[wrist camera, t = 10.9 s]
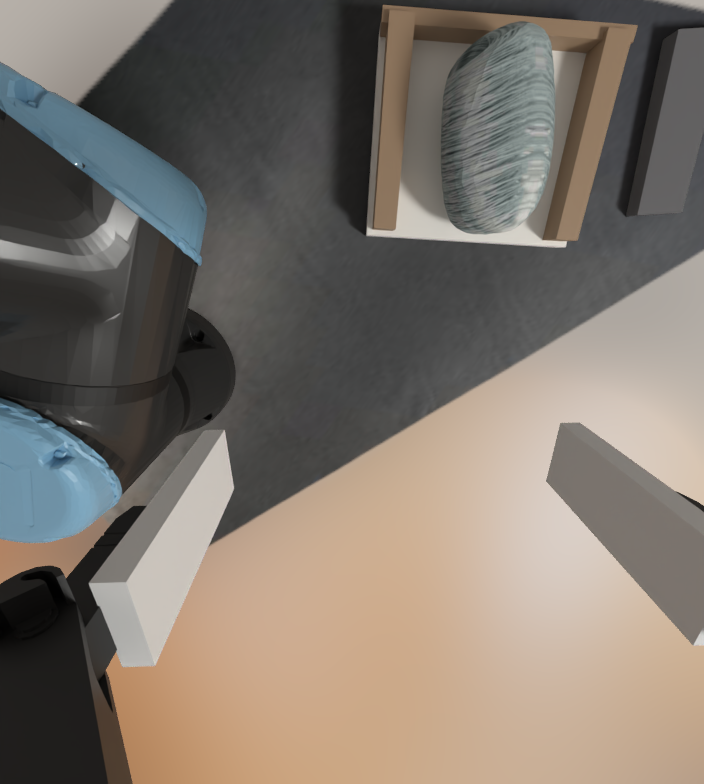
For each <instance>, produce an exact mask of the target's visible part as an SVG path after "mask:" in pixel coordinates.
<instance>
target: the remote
mask: <svg viewBox="0 0 704 784" xmlns="http://www.w3.org/2000/svg"><path fill="white" fill-rule="evenodd" d="M703 132H704V28H688V29H678V30H677V31H675V32H674V33H672V34H671V35H669V36H668V37H666V38H665V39H663V42H662V47H661V52H660V56H659V61H658V66H657V71H656V75H655V80H654V85H653V90H652V94H651V99H650V104H649V109H648V113H647V118H646V123H645V128H644V132H643V137H642V142H641V147H640V151H639V156H638V161H637V166H636V170H635V175H634V180H633V185H632V189H631V194H630V199H629V204H628V208H627V213H626V217H629V216H645V215H662V214H674V213H682V211H683V208H684V204H685V200H686V196H687V192H688V189H689V185H690V181H691V177H692V174H693V170H694V166H695V162H696V158H697V155H698V151H699V147H700V143H701V139H702V136H703Z"/></svg>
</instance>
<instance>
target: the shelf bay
mask: <svg viewBox="0 0 704 784" xmlns="http://www.w3.org/2000/svg"><path fill="white" fill-rule="evenodd" d="M519 21H526V22H530V23H534V24H536V25H538V26H540V27H542V28H543V29H544V30H545V31H546V33H547V34H548V36H549V39H550V41H551V46H552V55H553V64H554V83H555V128H554V140H553V150H552V157H551V163H550V170H549V174H548V178H547V181H546V185H545V189H544V192H543V195H542V197H541V198H540V200H539V202H538V204H537V207H536V208H535V210H534V211H533V212H532V213H531V214H530V215H529V217H528V218H527V219H526V220H525V221H524V222H523V223H522V224H520V225H519V226H518V227H516V228H515V229H513V230H511V231H507V232H502V233H490V234H486V235H484V234H469V233H465V232H463V231H461V230H459V229H457V228H456V227H455V226H454V225H453V224H452V223H451V222H450V220H449V217H448V215H447V212H446V208H445V205H444V198H443V189H442V175H441V123H442V121H441V119H442V107H443V95H444V90H445V85H446V81H447V77H448V75H449V73H450V70H451V69H452V67H453V66H454V64H455V63H456V61H457V60H458V58H459V57H460V56H461V55H462V54H463V53H464V52H465V51H466V50H467V48H469V47H470V46H471V45H472V44H473V43H474V42H476V41H477V40H478V39H480V38H481V37H483V36H484V35H486V34H487V33H489V32H491V31H493V30H495V29H497V28H500V27H502V26H505V25H507V24H510V23H514V22H519ZM637 26H638V25H627V24H615V23H602V22H590V21H578V20H565V19H553V18H540V17H528V16H516V15H503V14H491V13H479V12H466V11H454V10H441V9H429V8H417V7H404V6H392V5H383V8H382V15H381V23H380V30H379V39H378V55H377V70H376V86H375V102H374V117H373V133H372V148H371V164H370V179H369V195H368V211H367V226H366V236H375V237H391V238H408V239H424V240H440V241H456V242H473V243H489V244H505V245H522V246H538V247H554V248H555V247H566V243H567V241H577V240H578V236H579V232H580V229H581V225H582V221H583V218H584V214H585V210H586V206H587V203H588V199H589V195H590V192H591V188H592V184H593V180H594V177H595V173H596V169H597V166H598V162H599V158H600V154H601V151H602V147H603V143H604V140H605V136H606V132H607V128H608V125H609V121H610V117H611V114H612V110H613V106H614V102H615V99H616V95H617V91H618V88H619V84H620V80H621V76H622V73H623V69H624V65H625V62H626V58H627V54H628V50H629V47H630V44H631V43H633V41H634V37H635V34H636V30H637Z"/></svg>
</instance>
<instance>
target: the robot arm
mask: <svg viewBox="0 0 704 784" xmlns="http://www.w3.org/2000/svg"><path fill="white" fill-rule="evenodd" d="M206 218H207V207H206V203H205V200H204V197H203V195H202V194H201V192H200V190H199V189H198V187H197V186H196V185H195V184H194V183H193V182H192V181H191V180H190V179H189V178H188V177H187V176H186V175H184V174H183V173H182V172H180V171H179V170H178V169H176V168H175V167H173V166H172V165H171V164H169V163H168V162H166V161H165V160H163V159H162V158H160V157H159V156H157V155H156V154H154V153H153V152H151V151H150V150H148V149H147V148H145V147H143V146H142V145H140V144H139V143H137V142H136V141H134V140H133V139H131V138H129V137H128V136H126V135H125V134H123V133H121V132H120V131H118V130H117V129H115V128H113V127H112V126H110V125H108V124H107V123H105V122H103V121H102V120H100V119H99V118H97V117H95V116H94V115H92V114H90V113H89V112H87V111H85V110H84V109H82V108H80V107H79V106H77V105H75V104H73V103H72V102H70V101H68V100H66V99H65V98H63V97H61V96H59V95H57V94H56V93H53V92H50V91H47V90H46V89H45V88H43V87H42V86H41V85H39V84H37V83H35V82H34V81H31V80H30V79H28V78H26V77H24V76H22V75H21V74H19V73H17V72H16V71H15V70H13V69H12V68H10V67H9V66H7V65H5V64H3V63H1V62H0V539H3V540H8V541H14V542H23V543H45V542H51V541H55V540H58V539H61V538H66V537H70V536H73V535H76V534H78V533H80V532H81V531H83V530H84V529H86V528H87V527H88V526H90V525H91V524H92V523H93V522H94V521H95V520H97V519H98V518H99V517H100V516H101V515H102V514H104V513H105V512H106V511H107V510H109V509H110V508H112V507H113V506H114V505H115V504H117V503H118V502H119V499H120V497H121V496H122V494H123V493H124V492H125V491H126V490H127V489H128V488H129V487H130V486H131V485H132V484H133V483H134V482H135V480H136V479H137V478H138V477H139V476H140V475H141V474H142V473H143V472H144V471H145V470H146V469H147V467H148V466H149V465H150V464H151V463H152V462H153V461H154V460H155V459H156V458H157V457H158V456H159V454H160V453H161V452H162V451H163V450H164V449H165V448H166V447H167V446H168V445H169V444H170V443H171V442H172V440H173V439H174V438H175V437H176V436H178V435H181V434H184V433H187V432H190V431H192V430H195V429H198V428H200V427H202V426H204V425H206V424H207V423H209V422H210V421H211V420H213V419H214V418H215V417H216V416H217V415H218V414H219V413H220V412H221V410H222V409H223V408H224V407H225V405H226V404H227V403H228V401H229V399H230V397H231V395H232V393H233V389H234V385H235V365H234V360H233V357H232V354H231V351H230V349H229V347H228V345H227V343H226V342H225V340H224V338H223V337H222V336H221V334H220V333H219V332H218V331H217V330H216V328H215V327H214V326H213V325H212V324H211V323H209V322H208V321H207V320H206V319H204V318H203V317H202V316H200V315H198V314H197V313H195V312H193V311H191V310H189V309H188V305H189V301H190V297H191V293H192V288H193V284H194V280H195V276H196V272H197V267H198V265H199V266H201V263H202V258H201V256H200V251H201V245H202V240H203V234H204V229H205V224H206ZM546 481H547V483H548V484H549V485H550V486H551V487H552V488H553V489H554V490H555V491H556V493H557V494H558V495H559V496H560V497H561V498H562V499H563V500H564V501H565V503H566V504H567V505H568V506H569V507H570V508H571V509H572V511H573V512H574V513H575V514H576V515H577V516H578V517H579V518H580V519H581V521H582V522H583V523H584V524H585V525H586V526H587V527H588V528H589V530H590V531H591V532H592V533H593V534H594V535H595V536H596V537H597V538H598V540H599V541H600V542H601V543H602V544H603V545H604V546H605V547H606V549H607V550H608V551H609V552H610V553H611V554H612V555H613V556H614V558H616V560H617V561H618V562H619V563H620V564H621V565H622V566H623V568H624V569H625V570H626V571H627V572H628V573H629V574H630V575H631V577H632V578H633V579H634V580H635V581H636V582H637V583H638V584H639V586H640V587H641V588H642V589H643V590H644V591H645V592H646V593H647V594H648V596H649V597H650V598H651V599H652V600H653V601H654V602H655V603H656V604H657V606H658V607H659V608H660V609H661V610H662V611H663V612H664V613H665V615H667V617H668V618H669V619H670V620H671V621H672V622H673V623H674V624H675V626H676V627H677V628H678V629H679V630H680V631H681V633H682V634H683V635H684V636H685V637H686V638H687V639H688V640H689V641H690V643H691V644H692V645H704V506H703V505H701V504H700V503H699V502H697V501H695V500H693V499H691V498H689V497H687V496H685V495H683V494H681V493H678V492H676V491H674V490H672V489H671V488H670V487H668V486H667V485H665V484H664V483H663V482H661V481H660V480H658V479H657V478H656V477H654V476H653V475H652V474H650V473H649V472H647V471H646V470H645V469H643V468H642V467H640V466H639V465H637V464H636V463H635V462H633V461H632V460H631V459H629V458H628V457H627V456H625V455H624V454H622V453H621V452H620V451H618V450H617V449H615V448H614V447H613V446H611V445H610V444H609V443H607V442H606V441H604V440H603V439H602V438H600V437H599V436H597V435H596V434H595V433H593V432H592V431H590V430H589V429H588V428H586V427H585V426H583V425H582V424H580V423H561V424H560V427H559V431H558V435H557V439H556V444H555V448H554V452H553V456H552V460H551V464H550V468H549V472H548V476H547V480H546ZM233 490H234V485H233V479H232V473H231V467H230V461H229V454H228V448H227V442H226V436H225V430H204V431H203V433H202V434H201V435H200V437H199V438H198V439H197V441H196V442H195V443H194V445H193V446H192V447H191V448H190V450H189V451H188V452H187V454H186V455H185V456H184V458H183V459H182V460H181V462H180V463H179V464H178V466H177V467H176V468H175V470H174V471H173V472H172V474H171V475H170V476H169V478H168V479H167V480H166V482H165V483H164V484H163V485H162V487H161V488H160V489H159V491H158V492H157V493H156V495H155V496H154V497H153V499H152V500H151V501H150V503H149V504H148V505H147V506H133V507H132V508H130V509H129V510H127V511H126V512H125V513H123V514H122V515H121V516H119V517H118V518H116V519H115V521H114V522H113V523H112V524H111V525H110V527H109V528H108V529H107V530H106V532H105V533H104V536H101V537H100V539H99V540H98V541H97V542H96V543H95V545H94V548H91V549H90V551H89V552H88V553H87V554H86V555H85V557H84V558H83V559H82V560H81V561H80V563H79V564H78V565H77V566H76V567H75V569H74V570H73V571H72V572H71V573H70V574H69V576H68V577H67V578H65V576H64V574H63V572H62V571H61V569H60V568H58V567H54V566H42V567H36V568H33V569H30V570H27V571H24V572H21V573H19V574H17V575H15V576H13V577H12V578H10V579H8V580H6V581H4V582H3V583H1V584H0V784H132V779H131V775H130V770H129V766H128V761H127V757H126V752H125V748H124V744H123V739H122V735H121V731H120V726H119V721H118V717H117V712H116V708H115V703H114V699H113V695H112V690H111V686H110V681H109V677H108V675H107V672H106V668H107V667H108V665H109V663H110V661H111V659H112V658H113V656H114V654H115V652H117V655H118V657H119V660H120V663H121V665H122V667H136V666H155V665H156V663H157V661H158V658H159V656H160V654H161V652H162V649H163V647H164V645H165V643H166V640H167V638H168V636H169V634H170V631H171V629H172V627H173V625H174V622H175V620H176V618H177V616H178V613H179V611H180V609H181V607H182V604H183V602H184V600H185V598H186V595H187V593H188V591H189V589H190V586H191V584H192V582H193V580H194V577H195V575H196V573H197V571H198V568H199V566H200V564H201V562H202V560H203V557H204V555H205V553H206V551H207V548H208V546H209V544H210V542H211V539H212V537H213V535H214V533H215V530H216V528H217V526H218V524H219V521H220V519H221V517H222V515H223V512H224V510H225V508H226V506H227V503H228V501H229V499H230V497H231V495H232V492H233Z"/></svg>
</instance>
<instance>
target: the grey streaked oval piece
mask: <svg viewBox="0 0 704 784" xmlns="http://www.w3.org/2000/svg"><path fill="white" fill-rule="evenodd" d="M441 121H442V123H441V175H442V189H443V198H444V205H445V208H446V212H447V215H448V217H449V220H450V222H451V223H452V224H453V225H454V226H455V227H456V228H457V229H459V230H461V231H463V232H465V233H469V234H484V235H486V234H490V233H502V232H507V231H511V230H513V229H515V228H516V227H518V226H519V225H520V224H522V223H523V222H524V221H525V220H526V219H527V218H528V217H529V215H530V214H531V213H532V212H533V211H534V210H535V208H536V207H537V204H538V202H539V200H540V198H541V197H542V195H543V192H544V189H545V185H546V181H547V178H548V174H549V170H550V163H551V157H552V150H553V140H554V128H555V83H554V64H553V55H552V46H551V41H550V39H549V36H548V34H547V33H546V31H545V30H544V29H543V28H542V27H540V26H538V25H536V24H534V23H530V22H526V21H519V22H514V23H510V24H507V25H505V26H502V27H500V28H497V29H495V30H493V31H491V32H489V33H487V34H486V35H484V36H483V37H481V38H480V39H478V40H477V41H476V42H474V43H473V44H472V45H471V46H470V47H469V48H467V50H466V51H465V52H464V53H463V54H462V55H461V56H460V57H459V58H458V60H457V61H456V63H455V64H454V66H453V67H452V69H451V70H450V73H449V75H448V77H447V81H446V85H445V90H444V95H443V107H442V119H441Z"/></svg>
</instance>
